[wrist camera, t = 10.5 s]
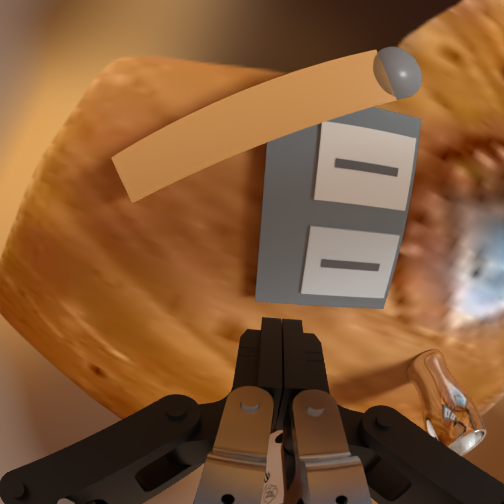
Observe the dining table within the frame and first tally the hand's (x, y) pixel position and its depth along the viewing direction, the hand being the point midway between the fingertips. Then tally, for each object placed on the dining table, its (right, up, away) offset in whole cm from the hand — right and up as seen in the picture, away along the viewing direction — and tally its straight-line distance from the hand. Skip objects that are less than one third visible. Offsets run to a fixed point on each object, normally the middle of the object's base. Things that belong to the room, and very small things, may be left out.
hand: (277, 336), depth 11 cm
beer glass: (+24, -13, +24) cm, 36 cm away
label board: (+7, +7, +17) cm, 20 cm away
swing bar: (0, +14, +10) cm, 17 cm away
